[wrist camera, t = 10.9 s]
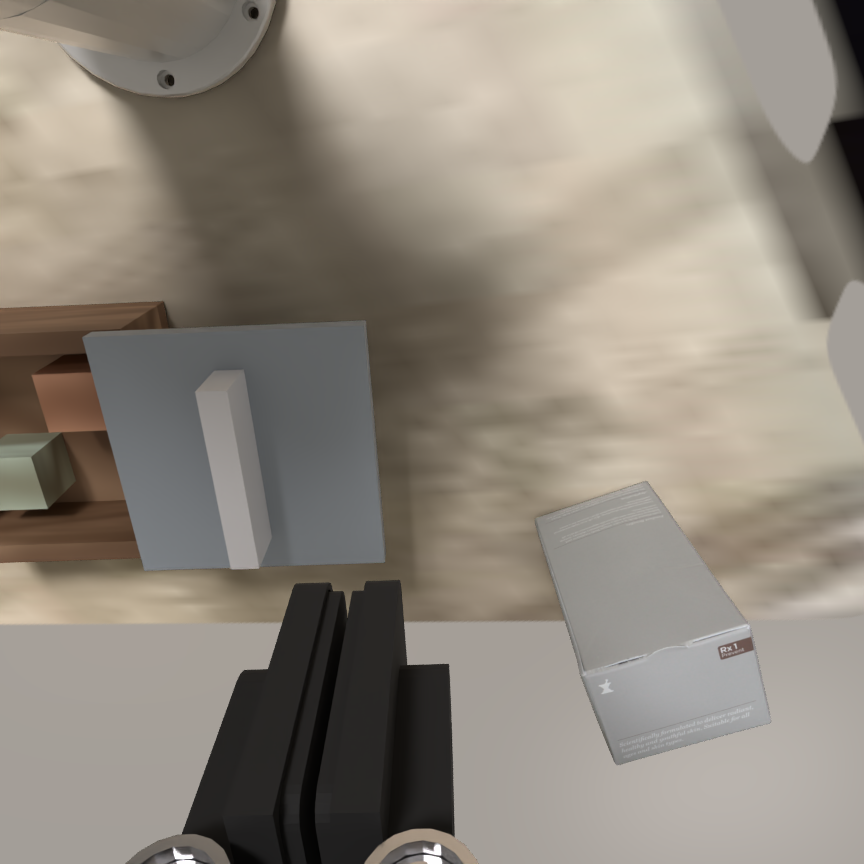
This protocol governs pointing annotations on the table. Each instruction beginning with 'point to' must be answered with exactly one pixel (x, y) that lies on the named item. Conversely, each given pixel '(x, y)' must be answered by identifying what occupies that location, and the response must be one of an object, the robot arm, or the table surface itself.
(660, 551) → the skincare box
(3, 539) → the box
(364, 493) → the cover
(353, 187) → the table surface
